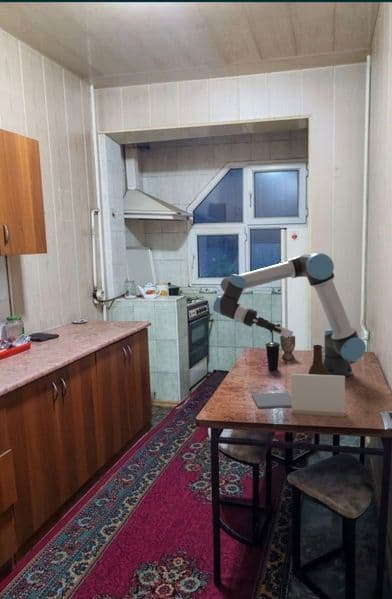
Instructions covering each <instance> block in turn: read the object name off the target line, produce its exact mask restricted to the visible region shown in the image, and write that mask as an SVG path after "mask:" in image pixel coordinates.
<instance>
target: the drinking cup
mask: <svg viewBox="0 0 392 599" xmlns="http://www.w3.org/2000/svg"><path fill="white" fill-rule="evenodd" d="M265 348H266V349H265V350H266V358H267V369H268V371H271V372H273V371H278V367H279V356H280V348H281V343H278V342H275V341H274V332H272V333H271V341H270V342H268V343H265Z"/></svg>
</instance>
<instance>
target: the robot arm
mask: <svg viewBox="0 0 392 599" xmlns="http://www.w3.org/2000/svg"><path fill="white" fill-rule="evenodd" d="M334 269H335V265H334V262H333V259H332V258H331V257H330V256H329V255H327V254H325V253H322V252H306V253H304V254H303V253H302V254H300V255H298V256H295V257H292V258H287V261H286V262H281V263H278V264H274V265H270V266H267V267H263V268H258V269H256V270H252V271H249V272H244V273H240V274H235V273H232V274H231V275H230V276H227V277H224V278H223V279H222V280H221V281H220V288H221V290H222V291H223V293H222V294H223V295H222V296H221V295H218V296H216V298H215V300H214V302H213V305H212V310H213V311H214V312H215V313H217V314H219V315H221V316H224V317H226V318H229V319H231V320H234V321H235V323H237V324H238V323H241V324H243V325H245V326H248V327H252V326H253V325H254V324H255V326H257V327H260V328H264V329H266V330H268V331H269V333H271V334H272V332H273V333H275V334H277V335H280V336H284V337H287V338H288V336H289V337H291V336H293V335H294V331H292V330H290V329H287V328H285V327H283V326H282V325H281V324H280V323H278V325H277V324H275V323H273V322H270V321H269V320H267V319H264V318H263V317H261V316H259V317H257V316H258V312H257V310H255V309H252V308H249V307H247V306H245V305H244V304H240V303H239V301H240V298H241V295H242V293H243V291H244V290H247V289H251V288H254V287H259V286H263V285H265V284H269V283H272V282H277V281H281V280H284V279H289V278H291V279H295V278H302V277H303V278H307V280H308V282H309V285H310V287H313V288H314V289H315V292H316V294H317V297H318V299H319V300H320V304H321V307H322V308H323V312H324V313H325V317H326V318H327V321H328V324H329V325H330V328H327V329H325V331H324V336H323V337H324V347H325V358H324V361H323V365H324V367H325V368H326V371H327V375H341V376H345V378H347V377H350V376H352V375H353V368H352V364H351V362H357V361H359V360H360V359H362V358H363V357H364V355H365V353H366V348H367V347H366V346H367V345H366V344H365V341H364V340H363V339H362V338H360V337H359V335H358V332H357V330H356V328H355V327H353V326H351V324H350V321H349V319H348V316H347V313H346V311H345V309H344V305H343V303H342V301H341V298H340V295H339V293H338V290H337V289H336V288H337V287H336V286H335V283H334V278H335V273H334ZM280 325H281V326H280ZM349 361H350V362H349Z"/></svg>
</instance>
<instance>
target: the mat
mask: <svg viewBox="0 0 392 599" xmlns="http://www.w3.org/2000/svg"><path fill="white" fill-rule="evenodd" d="M251 396H252V398H253V401H254V402H255V404H256V407H257V409H274V408H292V395H291V394H290V393H289V392H265V393H252V394H251Z"/></svg>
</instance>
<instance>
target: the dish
mask: <svg viewBox="0 0 392 599" xmlns="http://www.w3.org/2000/svg"><path fill="white" fill-rule="evenodd" d="M313 354H314V348H312V356H311V358H312V359H313ZM324 358H325V346H322V362H323V361H324ZM349 362H350V363H351V361H349Z"/></svg>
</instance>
